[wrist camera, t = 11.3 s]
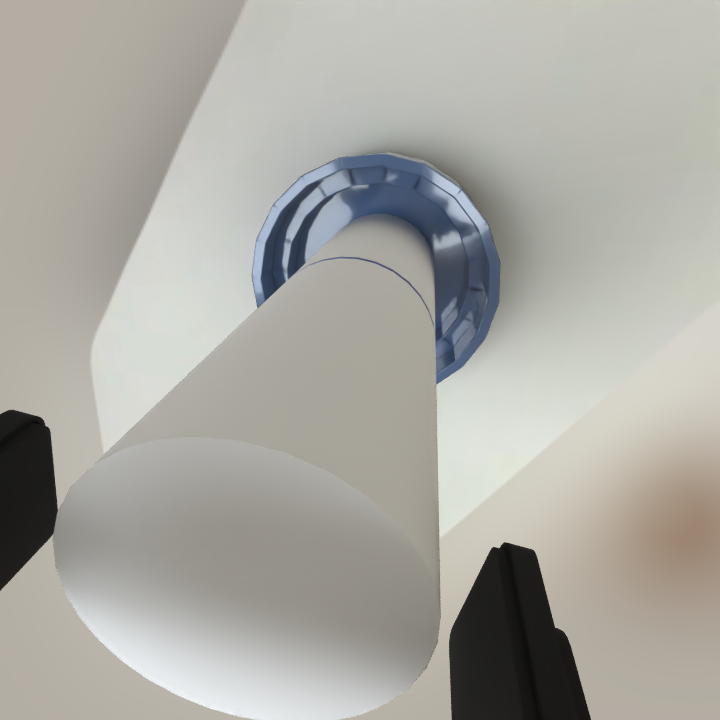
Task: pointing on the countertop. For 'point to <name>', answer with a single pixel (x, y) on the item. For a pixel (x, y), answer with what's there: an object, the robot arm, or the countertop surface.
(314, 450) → the cylindrical container
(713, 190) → the countertop surface
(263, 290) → the bowl
